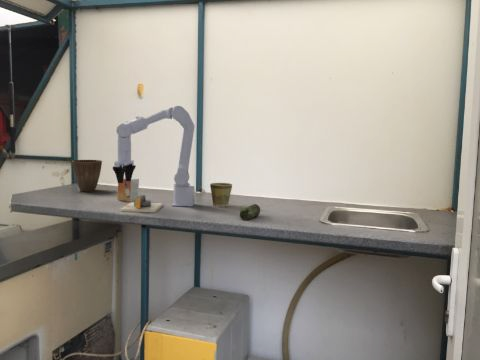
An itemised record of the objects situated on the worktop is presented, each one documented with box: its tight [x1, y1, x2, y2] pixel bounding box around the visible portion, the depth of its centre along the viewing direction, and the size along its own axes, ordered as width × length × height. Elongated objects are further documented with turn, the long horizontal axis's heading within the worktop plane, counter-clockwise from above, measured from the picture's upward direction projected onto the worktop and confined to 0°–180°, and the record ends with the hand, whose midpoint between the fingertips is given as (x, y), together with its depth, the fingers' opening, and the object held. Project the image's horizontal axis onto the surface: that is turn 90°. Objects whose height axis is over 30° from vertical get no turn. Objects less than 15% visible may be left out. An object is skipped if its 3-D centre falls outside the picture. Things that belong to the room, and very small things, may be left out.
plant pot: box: [71, 159, 103, 193], centre depth 215 cm, size 15×15×16 cm
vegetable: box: [239, 203, 261, 220], centre depth 162 cm, size 14×5×5 cm, turn 156°
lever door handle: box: [134, 194, 152, 208], centre depth 170 cm, size 12×7×4 cm, turn 0°
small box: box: [117, 177, 140, 203], centre depth 189 cm, size 8×6×10 cm
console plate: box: [120, 202, 163, 213], centre depth 173 cm, size 14×16×1 cm
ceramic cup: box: [209, 182, 233, 208], centre depth 186 cm, size 13×10×10 cm
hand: (124, 181), depth 181 cm, fingers open, 7 cm apart
